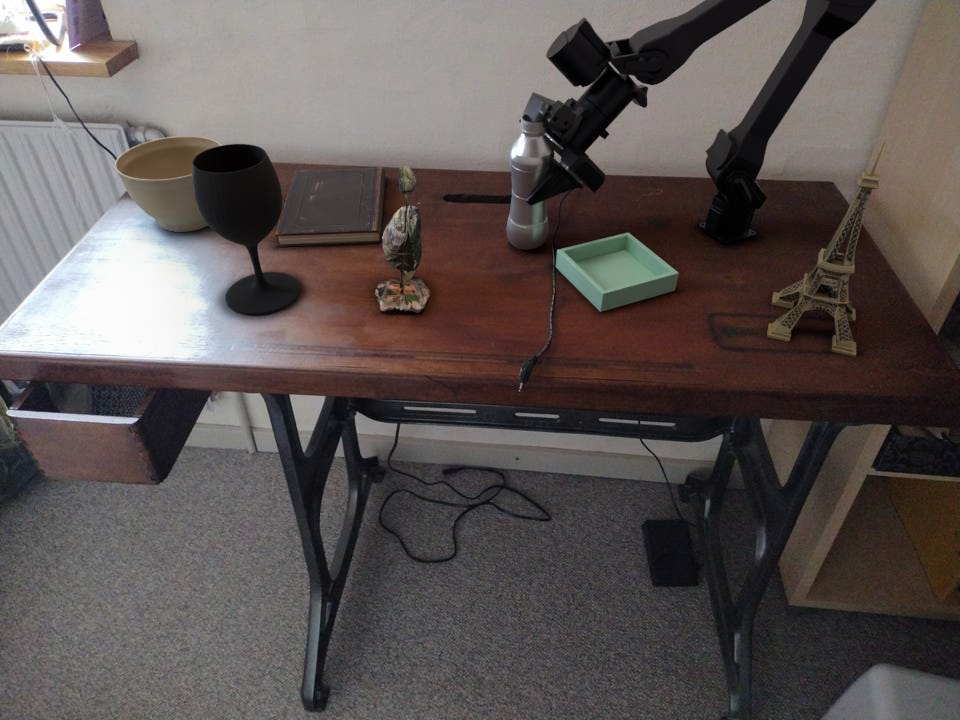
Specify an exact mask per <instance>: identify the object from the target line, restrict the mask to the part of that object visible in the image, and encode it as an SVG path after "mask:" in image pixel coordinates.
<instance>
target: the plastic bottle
mask: <svg viewBox="0 0 960 720" xmlns="http://www.w3.org/2000/svg"><path fill="white" fill-rule="evenodd" d="M520 119H521V123H520V126H519V132H520V134H519V136H518V137H517V138H516V139H515V140H514V143H513V144H512V146H511V148H510V151H509V162H510V165H509V166H510V175H511V179H512V185H511V200H510V208H509V214H508V217H507V222H506V228H505V230H506V236H507V240H508V242H509V243H510V244H511V246H513V247H515V248H516V249H518V250H527V251H529V250H535V249H538V248H540V247H541V246H542V245H543V244H544V243H545V242H546V240H547V237H548V233H549V219H548V199H546V200H544V201H542V202H539V203H537V204H534V205H532V206H531V205H529V204H528V203H527V202H526V200H527V198H528V197H529V195H530V194H531V192H532V191H533V190H534V189H535V187H536V186H537V185H538V183H539V182H540V181H541V180H542V178H543V177H544V176H545V174H546V173H547V172H548V170H549V165H550V157H551V156H552V157H553V158H554V159H555V154H556V153H555V151H554V149H553V146H552V144H551V142H550V140H549V139H548V138H547V136H546V135H545V133H546V132H547V128H546V127H543V122H538V123H532V122H531V121H530V118H529V117H527V116H526V114H523V113H522V115H521V117H520Z"/></svg>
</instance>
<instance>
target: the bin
mask: <svg viewBox="0 0 960 720" xmlns="http://www.w3.org/2000/svg"><path fill="white" fill-rule="evenodd" d="M555 258H556V260H555V268H556V269H557V270H558V271H559V272H560V273H561V274H562V275H563V276H564V277H565V278H566V279H567V280H568V281H569V282H570V283H571V284H572V285H573V286H574V287H575V288H576V289H577V291H579V292H580V293H581V295H582V296H584V297H585V298H586V299H587V301H589V303H591V304H592V305H593V306H594V307H595V309H596V310H598V311H599V312H601V313H602V312H606V311H609V310H612V309H615V308H619V307H623V306H626V305H630V304H634V303H637V302H640V301H644V300H648V299H651V298H654V297H658V296H661V295H664V294H669V293H672V292H675V291H676V287H677V284H678V279H679V274H680V273H679V271H677V270H676V269H675V268H673V267H672V266H671V264H668V263H667V262H666V261H665V260H663V258H661V257H660V256H659V255H657V253H655V252H654V251H652V250H651V249H650V248H648V246H646V244H644V243H642V242H641V241H640V240H638V239H637V238H636V237H635V236H633V235H632V234H631V233H630V232H624V233H620V234H617V235H613V236H608V237H604V238H599V239H595V240H592V241H588V242H584V243H583V242H582V243H579V244H576V245H575V244H574V245H571V246H567V247H563V248H560V249H557V250H556V257H555Z"/></svg>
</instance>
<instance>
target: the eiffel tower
mask: <svg viewBox="0 0 960 720" xmlns="http://www.w3.org/2000/svg"><path fill="white" fill-rule="evenodd" d="M885 143H886V139H884V141H883V143H882V146H881V149H880V151H879V153H878V155H877V157H876V160H875V162H874V163H873V167H872V168H871V171H862V172H861V175H860V176H858V177H857V186H858V190H857V191H856V194H855V195H854V197H853V199H852V201H851V204H850V205H849V207H848V209H847V211H846V212H845V215H844V216H843V218H842V220H841V222H840V223H839V225H838V227H837V229H836V231H835V233H834V235H833V236H832V238H831V240H830V242H829V244H828V245H827V247H826V248H823V247H822V248H821V249H820V251H819V252H818V255H817V262H816V264H815V266H814V267H813V268H812V270H810V272H808V273H807V272H804V275H803V278H802V279H801V280H798V281H797V282H795V283H793V284H790V285H789V286H787V287H785V288H783V289H782V290H780V292H776V291H773V293H772V299H771V305H773V306H776V307H782V308H786V309H790V310H789V311H787V312H786V313H784V314H782V315H780V317H778V318H776V319H775V321H773V322H771V323H770V322H769V323H768V327H767V333H766V338H770V339H775V340H780V341H784V342H787V343H788V342H790V341H791V337H792V330H793V328H794V327H795V326H796V324H797V323H798V321H799V320H800V318H801V317H802V315H803V314H804V312H808V311H812V310H821V311H824V312H826V313H828V314H829V315H830V316H831V317H832V318H833V322H834V323H833V324H834V330H835V331H834V332H835V334H834V335H833V336H832V338H831V352H832V353H836V354H841V355H845V356H850V357H853V358H856V356H857V342H856V341H854V336H853V332H852V330H851V327H850V323H849V322H852V323H855V322H856V319H857V318H856V317H857V314H856V308H853V305H852V302H851V299H850V296H849V282H850V281H849V280H850V275H851V274H855V268H856V265H855V252H856V248H857V244H858V240H859V236H860V233H861V229H862V226H863V222H864V218H865V215H866V211H867V208H868V205H869V201H870V199H871V195H872V191H873V190H879V189H880V183H879V182H881V180H880V179H881V178H880V173H876V169H877V166H878V163H879V160H880V158H881V154H882V151H883V148H884V146H885ZM846 237H847V239H846ZM845 239H846V244H845V247H844V252H843V253H842V252H839V250H840V248H841V247H842V245H843V243H844V241H845ZM826 276H830V277H835V278H837V280H835V279H831V278H826ZM796 301H798V302H797V304H796V305H795V302H796Z"/></svg>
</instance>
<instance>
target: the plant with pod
mask: <svg viewBox="0 0 960 720" xmlns="http://www.w3.org/2000/svg"><path fill="white" fill-rule="evenodd" d="M397 175H398V176H397V178H398V186H399V187H398V188H399V192H400V194H402V195H404V199H405V205H404V206H401V207H400V208H398V209H397V211H396V212H395V213H393V215H392V217H391V219H390V221H389V222H388V224H386V226H385V228H384V230H383V234H382V235H381V240H382V250H383V253H384V256H385V260H386V263H388V265H390V267H391V268H393V269H395V270H398V271H399V275H398V276H399V280H398V279H397V278H391V279H389V280H383V281H382V280H381V281H379V282H378V285H377V288H376V289H374V295H375V296H376V298H377V299H376V301H377V302H379V304H378V305H379V311H382V312H386V311H390V310H392V311H393V310H394V309H396V310H397V311H399V310H400V311H403V310H404V312H407V311H408V312H410V311H411V312H412V311H413V313H417V314H418V313H420V312H422V311H424V310H425V307H426V304H427V301H428V299H429V297H430V296H431V290H430V288H429V287H428V286H426V285H425V282H424V280H422V279H421V278H420V277H418V278H414V279H412V278H413V276H414V275H415V273H416V271H418V267H419V266H420V263H421V260H422V255H423V246H422V219H421V216H420V215H421V214H420V211H419V209H418V207H416V206H413V204H411V205H409V203H410V199H409V197H410V196H409V195H410V193H413V192H414V190H415V189H416V187H417V179H416V176H415V174H414V172H413V171H412V169H411V167H409V166H408V165H406V164H404V165H402V166H400V167H399V169H398V174H397ZM417 204H418V205H421V202H417Z"/></svg>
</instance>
